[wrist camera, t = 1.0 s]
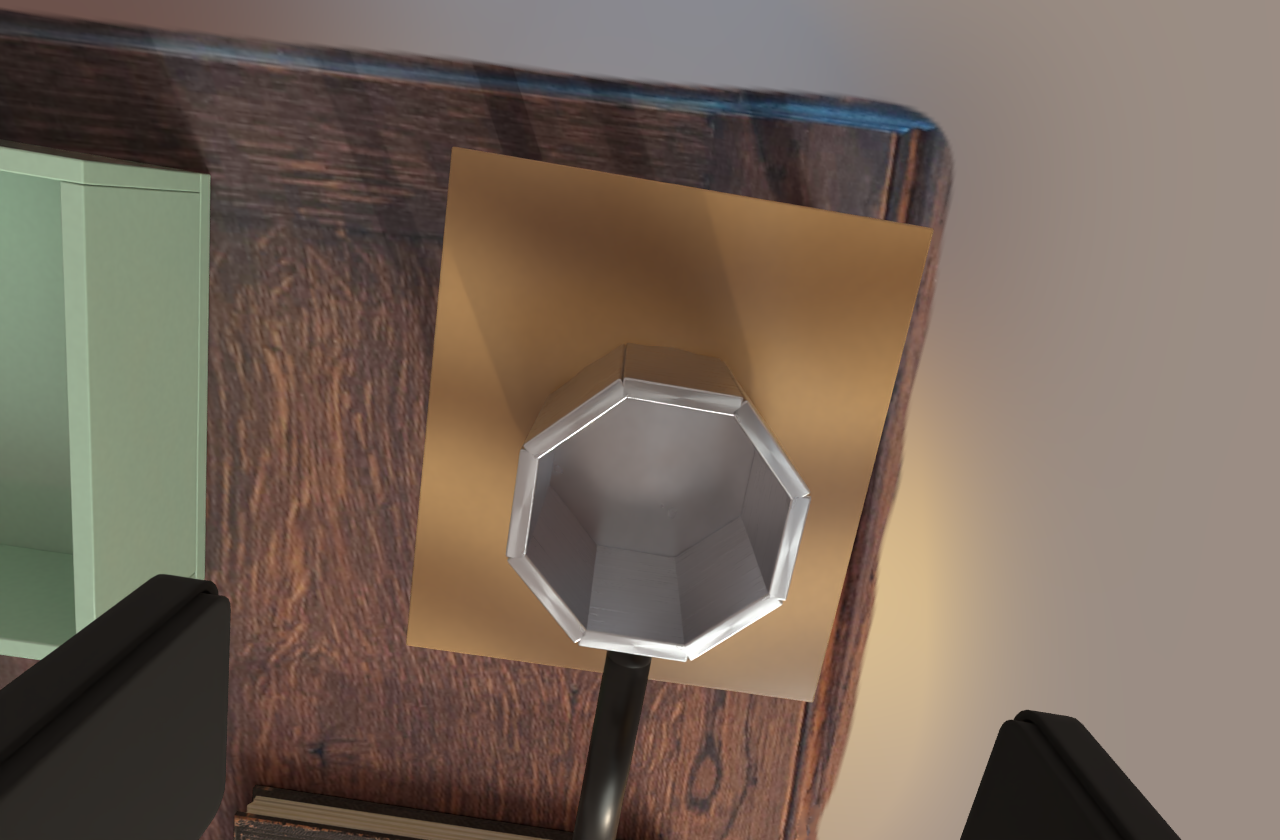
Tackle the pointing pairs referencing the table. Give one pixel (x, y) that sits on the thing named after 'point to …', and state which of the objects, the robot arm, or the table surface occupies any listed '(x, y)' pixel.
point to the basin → (98, 385)
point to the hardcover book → (365, 821)
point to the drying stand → (652, 316)
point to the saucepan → (650, 530)
